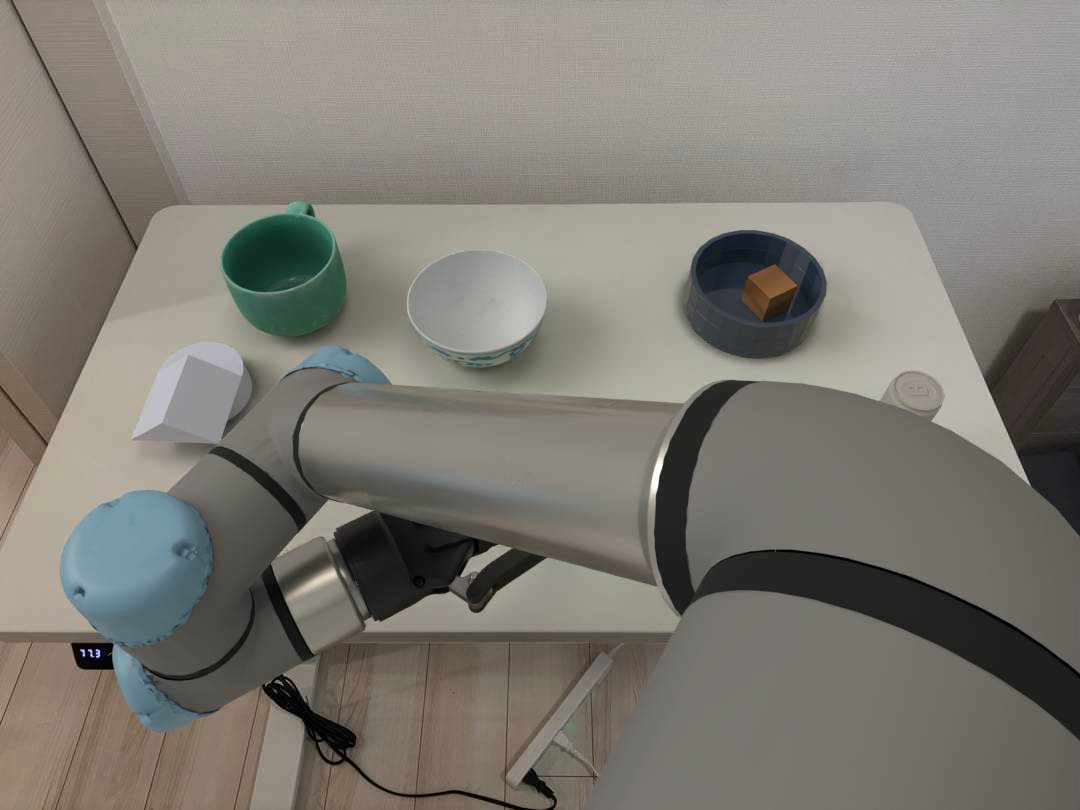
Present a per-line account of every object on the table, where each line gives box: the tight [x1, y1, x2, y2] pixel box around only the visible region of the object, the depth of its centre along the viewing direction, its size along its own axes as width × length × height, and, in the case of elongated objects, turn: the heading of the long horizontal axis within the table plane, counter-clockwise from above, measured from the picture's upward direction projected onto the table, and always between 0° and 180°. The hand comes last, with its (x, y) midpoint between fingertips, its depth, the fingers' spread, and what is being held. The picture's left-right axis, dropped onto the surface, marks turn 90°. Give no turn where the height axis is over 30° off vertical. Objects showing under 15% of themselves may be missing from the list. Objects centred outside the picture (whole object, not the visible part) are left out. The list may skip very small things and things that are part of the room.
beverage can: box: [879, 369, 945, 422], centre depth 77 cm, size 5×5×12 cm
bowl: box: [683, 229, 828, 359], centre depth 92 cm, size 15×15×6 cm
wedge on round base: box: [130, 341, 253, 445], centre depth 83 cm, size 9×7×13 cm
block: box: [741, 264, 797, 322], centre depth 92 cm, size 4×4×4 cm
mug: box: [219, 200, 347, 338], centre depth 91 cm, size 17×13×10 cm
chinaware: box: [406, 248, 548, 369], centre depth 88 cm, size 15×15×8 cm
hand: (620, 441), depth 64 cm, fingers closed on muddler, 3 cm apart
